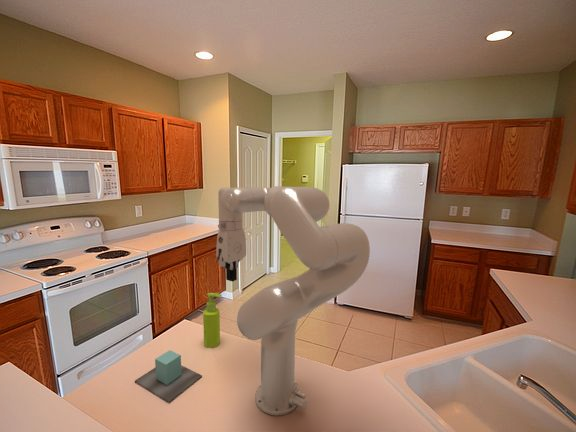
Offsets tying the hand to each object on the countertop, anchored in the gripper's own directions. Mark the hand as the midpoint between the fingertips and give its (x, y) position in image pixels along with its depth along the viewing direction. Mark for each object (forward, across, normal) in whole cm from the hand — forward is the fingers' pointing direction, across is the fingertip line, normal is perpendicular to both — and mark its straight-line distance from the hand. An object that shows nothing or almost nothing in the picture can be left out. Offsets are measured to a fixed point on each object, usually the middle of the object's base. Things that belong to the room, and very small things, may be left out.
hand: (231, 279), depth 91 cm
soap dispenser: (+29, +4, +13) cm, 32 cm away
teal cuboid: (+28, -17, +11) cm, 35 cm away
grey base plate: (+29, -17, +11) cm, 35 cm away
